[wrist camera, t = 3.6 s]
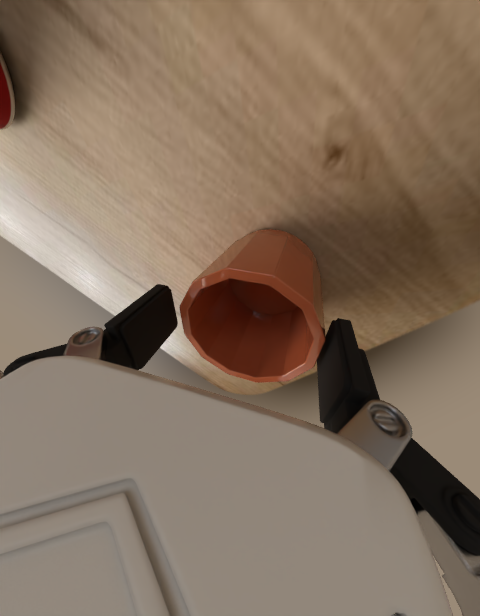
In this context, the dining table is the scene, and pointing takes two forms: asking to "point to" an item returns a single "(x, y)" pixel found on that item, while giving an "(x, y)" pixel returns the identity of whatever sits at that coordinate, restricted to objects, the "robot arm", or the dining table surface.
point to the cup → (258, 308)
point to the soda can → (6, 96)
